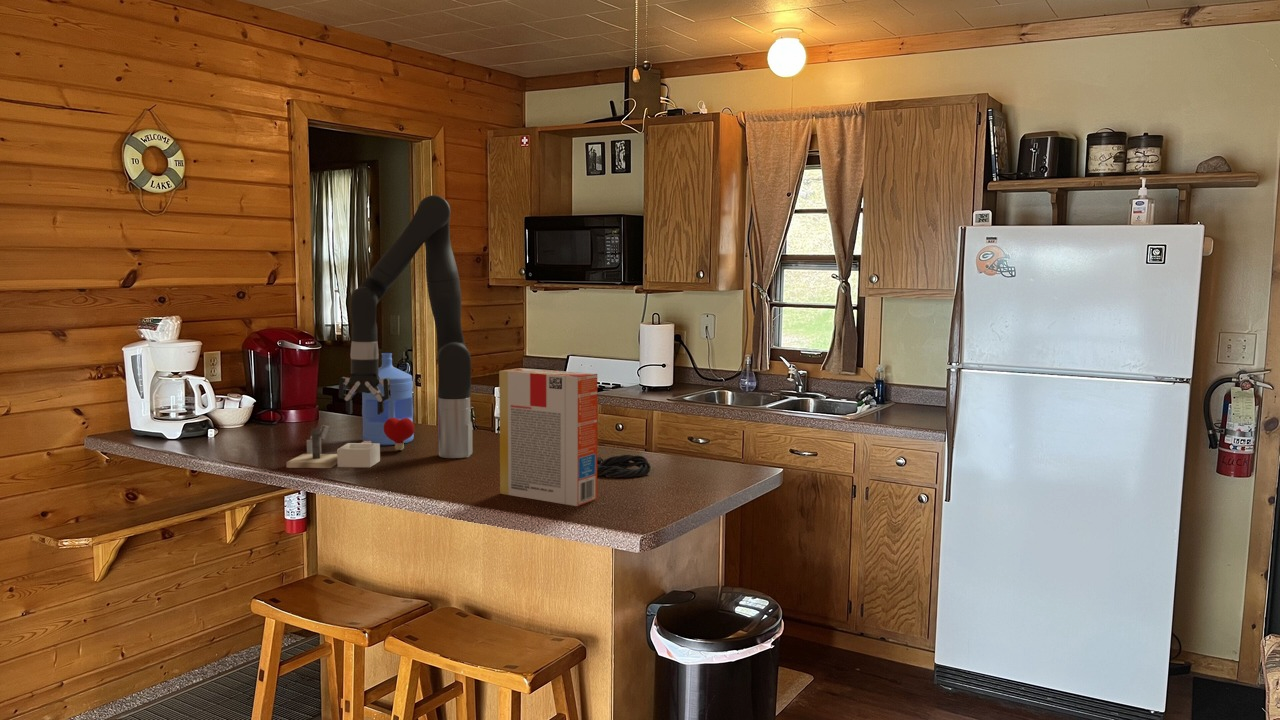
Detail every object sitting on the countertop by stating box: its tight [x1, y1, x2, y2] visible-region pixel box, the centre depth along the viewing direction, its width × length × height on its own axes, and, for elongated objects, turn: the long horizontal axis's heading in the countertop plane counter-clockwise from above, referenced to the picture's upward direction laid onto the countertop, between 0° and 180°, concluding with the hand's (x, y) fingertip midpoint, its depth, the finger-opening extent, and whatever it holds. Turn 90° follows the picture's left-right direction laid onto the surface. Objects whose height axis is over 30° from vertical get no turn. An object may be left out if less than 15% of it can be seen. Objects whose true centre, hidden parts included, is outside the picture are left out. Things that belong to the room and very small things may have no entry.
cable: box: [597, 454, 651, 479], centre depth 249 cm, size 17×14×4 cm
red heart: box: [384, 418, 416, 452], centre depth 277 cm, size 9×7×10 cm
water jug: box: [361, 352, 415, 446], centre depth 292 cm, size 16×16×28 cm
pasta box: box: [498, 367, 598, 507], centre depth 221 cm, size 23×8×30 cm, turn 59°
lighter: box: [306, 424, 330, 454], centre depth 273 cm, size 7×2×8 cm, turn 150°
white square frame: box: [336, 441, 381, 468], centre depth 260 cm, size 9×12×5 cm
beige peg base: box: [286, 428, 338, 469], centre depth 258 cm, size 12×12×10 cm
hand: (364, 413), depth 264 cm, fingers open, 8 cm apart
